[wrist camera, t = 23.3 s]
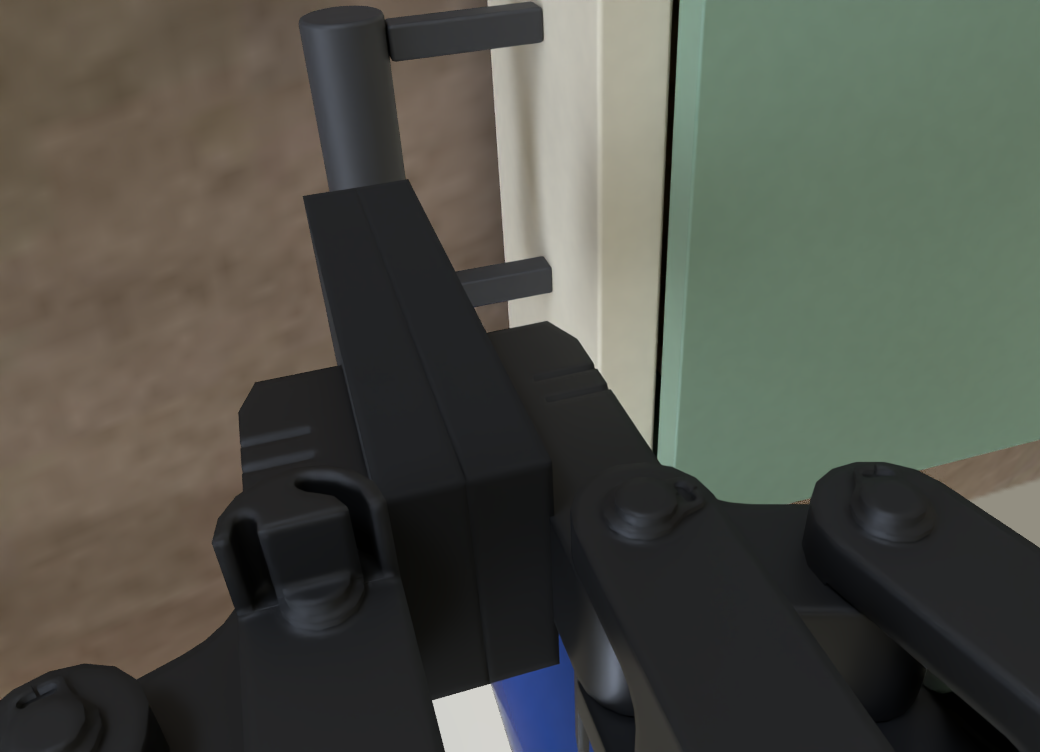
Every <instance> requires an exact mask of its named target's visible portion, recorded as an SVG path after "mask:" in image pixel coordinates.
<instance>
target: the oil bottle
mask: <svg viewBox="0 0 1040 752" xmlns="http://www.w3.org/2000/svg"><path fill="white" fill-rule="evenodd" d="M559 657H560V664H557V665H554V666H550V667H547V668H543V669H540V670H536V671H533V672H529V673H526V674H522V675H519V676H515V677H512V678H508V679H505V680H501V681H498V682H494V683H491V686H492V689H493V692H494V695H495V699H496V702H497V705H498V708H499V712H500V715H501V718H502V721H503V725H504V728H505V731H506V734H507V737H508V741H509V744H510V747H511V750H512V752H578V748H577V742H576V736H575V692H574V669H573V666H572V664H571V661H570V659H569V657H568V654H567V652H566V649H565V647H564V645H563V642H562V640H561V637H560V635H559ZM589 752H594V750H593V748H592V745H591V743H590V740H589Z"/></svg>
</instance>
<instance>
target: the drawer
mask: <svg viewBox="0 0 1040 752" xmlns="http://www.w3.org/2000/svg"><path fill="white" fill-rule="evenodd" d="M487 2H488V7H480V8H472V9H463V10H455V11H447V12H438V13H430V14H422V15H413V16H405V17H397V18H388V19H385V20H384V15H383V13H382V11H381V10H379V9H377V8H373V7H368V6H339V7H331V8H325V9H321V10H317V11H313V12H310V13H308V14H306V15H304V16H302V17H301V18H300V20H299V29H300V34H301V39H302V45H303V50H304V56H305V61H306V66H307V72H308V77H309V83H310V88H311V93H312V99H313V104H314V110H315V115H316V120H317V126H318V131H319V137H320V142H321V147H322V153H323V158H324V164H325V169H326V174H327V180H328V185H329V191H330V192H332V191H338V190H344V189H350V188H357V187H363V186H369V185H375V184H382V183H388V182H394V181H400V180H406V179H405V171H404V164H403V156H402V148H401V141H400V133H399V126H398V118H397V110H396V103H395V95H394V88H393V80H392V73H391V65H390V57H391V59H392V61H395V62H397V61H404V60H412V59H420V58H427V57H435V56H443V55H451V54H458V53H466V52H474V51H481V50H489V49H491V61H492V76H493V91H494V105H495V120H496V135H497V150H498V164H499V179H500V194H501V208H502V223H503V238H504V253H505V263H501V264H495V265H490V266H484V267H479V268H473V269H468V270H462V271H457V272H456V274H457V276H458V278H459V280H460V282H461V284H462V286H463V288H464V290H465V292H466V294H467V296H468V298H469V300H470V301H471V303H472V305H473V307H478V306H483V305H488V304H493V303H499V302H504V301H508V311H509V326H510V328H514V327H519V326H524V325H529V324H534V323H538V322H543V321H548V322H550V323H552V324H553V325H555V326H557V327H558V328H560V329H562V330H563V331H565V332H567V333H568V334H570V335H572V336H573V337H575V338H577V339H578V340H579V342H580V343H581V345H582V346H583V348H584V349H585V351H586V352H587V354H588V355H589V357H590V358H591V360H592V361H593V363H594V367H595V369H598V370H599V372H600V373H601V375H602V376H603V378H604V379H605V381H606V382H607V385H608V389H611V390H612V391H613V393H614V394H615V396H616V397H617V399H618V400H619V402H620V403H621V405H622V406H623V408H624V409H625V411H626V412H627V414H628V415H629V417H630V419H631V420H632V422H633V423H634V425H635V426H636V428H637V429H638V431H639V432H640V434H641V435H642V437H643V438H644V440H645V441H646V443H647V444H648V446H649V447H650V449H651V450H652V452H653V433H654V410H655V388H656V369H657V371H658V372H659V373H660V375H661V373H662V353H663V332H664V312H665V291H666V271H667V250H668V229H669V209H670V188H671V168H672V147H673V127H674V106H675V86H676V65H677V45H678V24H679V4H680V0H487ZM389 56H390V57H389Z"/></svg>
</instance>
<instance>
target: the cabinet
mask: <svg viewBox="0 0 1040 752" xmlns="http://www.w3.org/2000/svg"><path fill="white" fill-rule="evenodd" d="M1037 440H1040V0H680V4H679V24H678V45H677V65H676V86H675V106H674V127H673V147H672V168H671V188H670V209H669V229H668V250H667V271H666V291H665V312H664V332H663V353H662V373H661V375H660V373H659V372H658V371H657V369H656V388H655V410H654V433H653V453H654V455H655V456H656V458H657V459H658V461H659V462H660V464H661V465H665V466H671V467H674V468H676V469H678V470H680V471H683V472H685V473H687V474H689V475H691V476H694V477H696V478H697V479H698V480H699V481H700V482H701V483H702V484H703V485H704V486H705V487H706V488H708V489H709V490H710V491H711V492H712V493H713V494H714V496H715V497H716V498H717V499H718V500H722V501H726V502H733V503H744V504H789V503H793V502H797V501H801V500H805V499H809V498H811V496H812V493H813V490H814V487H815V484H816V482H817V481H818V480H819V479H820V478H822V477H823V476H824V475H825V474H826V473H828V472H829V471H830V470H831V469H833V468H837V467H840V466H843V465H847V464H850V463H854V462H887V463H891V464H896V465H900V466H904V467H908V468H912V469H916V470H918V471H919V470H923V469H927V468H931V467H935V466H939V465H942V464H946V463H950V462H954V461H958V460H962V459H966V458H970V457H974V456H978V455H982V454H986V453H990V452H993V451H997V450H1001V449H1005V448H1009V447H1013V446H1017V445H1021V444H1025V443H1029V442H1033V441H1037Z"/></svg>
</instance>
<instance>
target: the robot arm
mask: <svg viewBox="0 0 1040 752" xmlns="http://www.w3.org/2000/svg"><path fill="white" fill-rule="evenodd" d="M303 199H304V204H305V209H306V214H307V219H308V224H309V229H310V234H311V238H312V243H313V248H314V253H315V258H316V263H317V268H318V273H319V278H320V283H321V287H322V292H323V297H324V302H325V307H326V312H327V317H328V322H329V327H330V332H331V336H332V341H333V346H334V351H335V356H336V361H337V365H338V366H334V367H330V368H325V369H320V370H315V371H310V372H305V373H300V374H295V375H290V376H285V377H280V378H275V379H270V380H265V381H260V382H255V384H254V386H253V387H252V389H251V391H250V393H249V394H248V396H247V398H246V400H245V401H244V403H243V405H242V407H241V408H240V410H239V412H238V415H239V431H240V444H241V465H242V471H243V474H242V481H243V492H242V493H240V494H239V495H237V496H236V497H235V498H234V500H233V501H232V502H231V503H230V504H229V506H228V507H227V508H226V509H225V511H224V512H223V513H222V514H221V516H220V517H219V518H218V521H217V525H216V528H215V532H214V536H213V540H212V545H213V548H214V551H215V553H216V556H217V559H218V562H219V565H220V568H221V570H222V573H223V576H224V579H225V582H226V585H227V588H228V590H229V593H230V596H231V599H232V602H233V605H234V607H235V609H234V611H233V612H232V613H231V615H230V616H229V617H228V619H227V620H226V621H225V623H224V624H223V625H222V626H220V627H219V628H218V629H217V630H216V631H215V632H214V633H213V634H212V635H211V636H210V637H208V638H207V639H206V640H205V641H204V642H202V643H200V644H199V645H197V646H196V647H194V648H193V649H191V650H190V651H188V652H186V653H185V654H183V655H182V656H180V657H178V658H176V659H174V660H172V661H171V662H169V663H167V664H165V665H163V666H161V667H159V668H157V669H156V670H154V671H152V672H150V673H148V674H146V675H144V676H142V677H141V678H139V679H137V680H136V679H135V678H133V677H132V676H130V675H128V674H127V673H125V672H123V671H122V670H120V669H119V668H117V667H115V666H104V665H94V664H80V665H76V666H72V667H67V668H63V669H58V670H54V671H50V672H47V673H45V674H43V675H41V676H39V677H37V678H35V679H33V680H32V681H30V682H28V683H26V684H24V685H22V686H20V687H18V688H16V689H14V690H12V691H11V692H10V693H9V694H7V695H6V696H5V697H4V698H3V699H2V700H0V752H445V750H444V746H443V742H442V738H441V734H440V731H439V726H438V723H437V719H436V715H435V711H434V707H433V703H432V700H435V699H438V698H442V697H445V696H449V695H452V694H456V693H459V692H463V691H466V690H470V689H473V688H477V687H480V686H484V685H487V684H491V683H494V682H498V681H501V680H505V679H508V678H512V677H515V676H519V675H522V674H526V673H529V672H533V671H536V670H540V669H543V668H547V667H550V666H554V665H557V664H560V657H559V635H560V637H561V640H562V642H563V645H564V647H565V649H566V652H567V654H568V657H569V659H570V661H571V664H572V666H573V669H574V692H575V736H576V742H577V748H578V752H589V740H590V743H591V745H592V748H593V750H594V752H1040V548H1039V547H1038V546H1036V545H1035V544H1033V543H1032V542H1030V541H1029V540H1027V539H1026V538H1024V537H1023V536H1021V535H1020V534H1018V533H1016V532H1015V531H1014V530H1012V529H1011V528H1009V527H1008V526H1006V525H1005V524H1003V523H1002V522H1000V521H999V520H997V519H996V518H994V517H993V516H991V515H989V514H988V513H987V512H985V511H984V510H982V509H981V508H979V507H978V506H976V505H975V504H973V503H972V502H970V501H969V500H967V499H966V498H964V497H963V496H961V495H960V494H958V493H957V492H955V491H954V490H952V489H951V488H949V487H948V486H946V485H945V484H943V483H942V482H940V481H938V480H936V479H934V478H932V477H930V476H928V475H926V474H924V473H922V472H920V471H918V470H916V469H912V468H908V467H904V466H900V465H896V464H891V463H887V462H854V463H850V464H847V465H843V466H840V467H837V468H833V469H831V470H830V471H829V472H828V473H826V474H825V475H824V476H823V477H822V478H820V479H819V480H818V481H817V482H816V484H815V487H814V490H813V493H812V496H811V499H810V504H744V503H733V502H726V501H722V500H718V499H717V498H716V497H715V496H714V494H713V493H712V492H711V491H710V490H709V489H708V488H706V487H705V486H704V485H703V484H702V483H701V482H700V481H699V480H698V479H697V478H696V477H694V476H691V475H689V474H687V473H685V472H683V471H680V470H678V469H676V468H674V467H671V466H665V465H661V464H660V462H659V461H658V459H657V458H656V456H655V455H654V453H653V452H652V450H651V449H650V447H649V446H648V444H647V443H646V441H645V440H644V438H643V437H642V435H641V434H640V432H639V431H638V429H637V428H636V426H635V425H634V423H633V422H632V420H631V419H630V417H629V415H628V414H627V412H626V411H625V409H624V408H623V406H622V405H621V403H620V402H619V400H618V399H617V397H616V396H615V394H614V393H613V391H612V390H611V389H608V385H607V382H606V381H605V379H604V378H603V376H602V375H601V373H600V372H599V370H598V369H595V367H594V363H593V361H592V360H591V358H590V357H589V355H588V354H587V352H586V351H585V349H584V348H583V346H582V345H581V343H580V342H579V340H578V339H577V338H575V337H573V336H572V335H570V334H568V333H567V332H565V331H563V330H562V329H560V328H558V327H557V326H555V325H553V324H552V323H550V322H548V321H543V322H538V323H534V324H529V325H524V326H519V327H514V328H509V329H504V330H499V331H494V332H489V333H486V331H485V329H484V327H483V325H482V323H481V321H480V319H479V317H478V315H477V313H476V311H475V309H474V307H473V305H472V303H471V301H470V300H469V298H468V296H467V294H466V292H465V290H464V288H463V286H462V284H461V282H460V280H459V278H458V276H457V274H456V272H455V270H454V268H453V266H452V264H451V262H450V260H449V258H448V256H447V255H446V253H445V251H444V249H443V247H442V245H441V243H440V241H439V239H438V237H437V235H436V233H435V231H434V229H433V227H432V225H431V223H430V221H429V219H428V217H427V215H426V213H425V212H424V210H423V208H422V206H421V204H420V202H419V200H418V198H417V196H416V194H415V192H414V190H413V188H412V186H411V184H410V182H409V180H408V179H407V180H400V181H394V182H388V183H382V184H375V185H369V186H363V187H357V188H350V189H344V190H338V191H332V192H325V193H319V194H313V195H307V196H303Z"/></svg>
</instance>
